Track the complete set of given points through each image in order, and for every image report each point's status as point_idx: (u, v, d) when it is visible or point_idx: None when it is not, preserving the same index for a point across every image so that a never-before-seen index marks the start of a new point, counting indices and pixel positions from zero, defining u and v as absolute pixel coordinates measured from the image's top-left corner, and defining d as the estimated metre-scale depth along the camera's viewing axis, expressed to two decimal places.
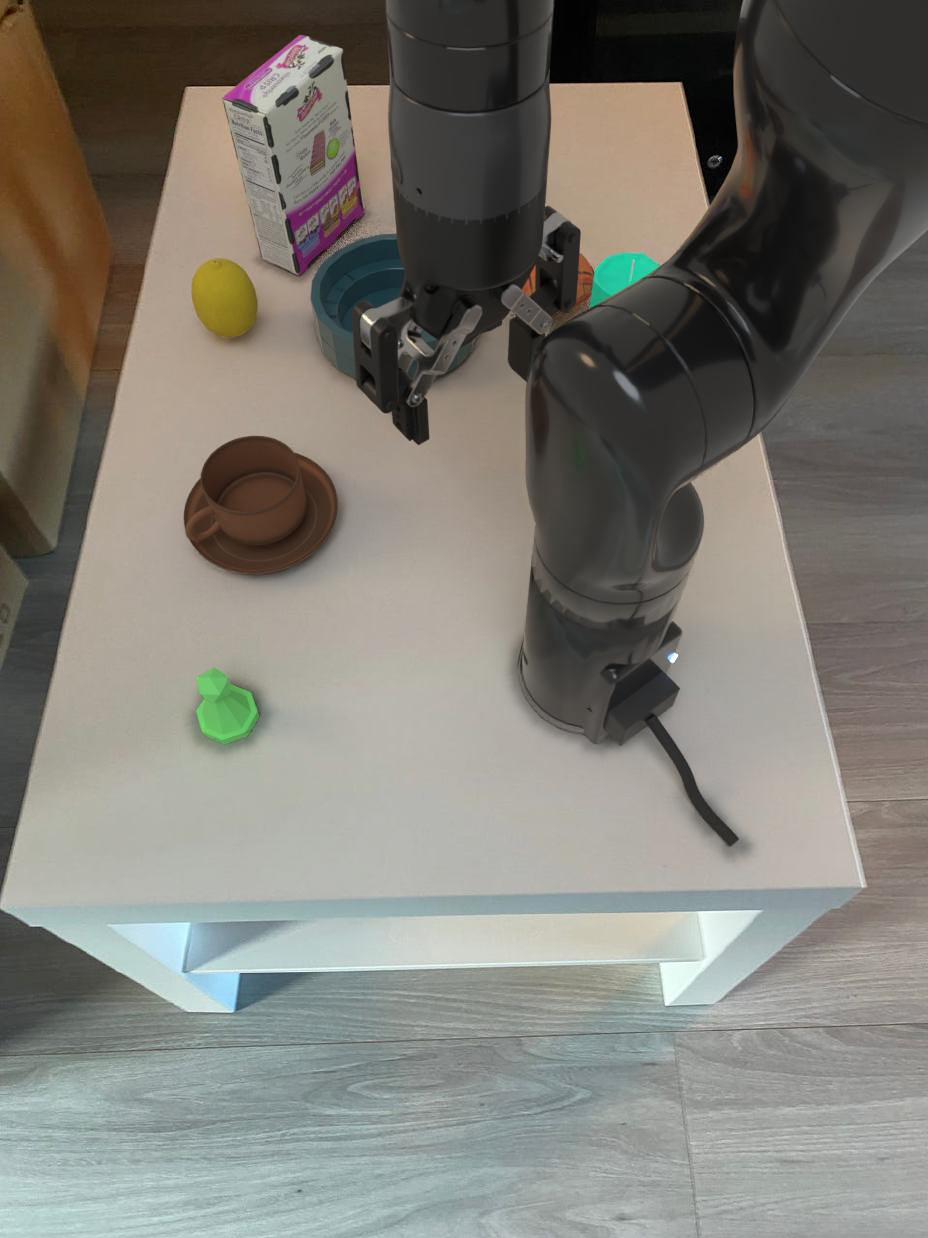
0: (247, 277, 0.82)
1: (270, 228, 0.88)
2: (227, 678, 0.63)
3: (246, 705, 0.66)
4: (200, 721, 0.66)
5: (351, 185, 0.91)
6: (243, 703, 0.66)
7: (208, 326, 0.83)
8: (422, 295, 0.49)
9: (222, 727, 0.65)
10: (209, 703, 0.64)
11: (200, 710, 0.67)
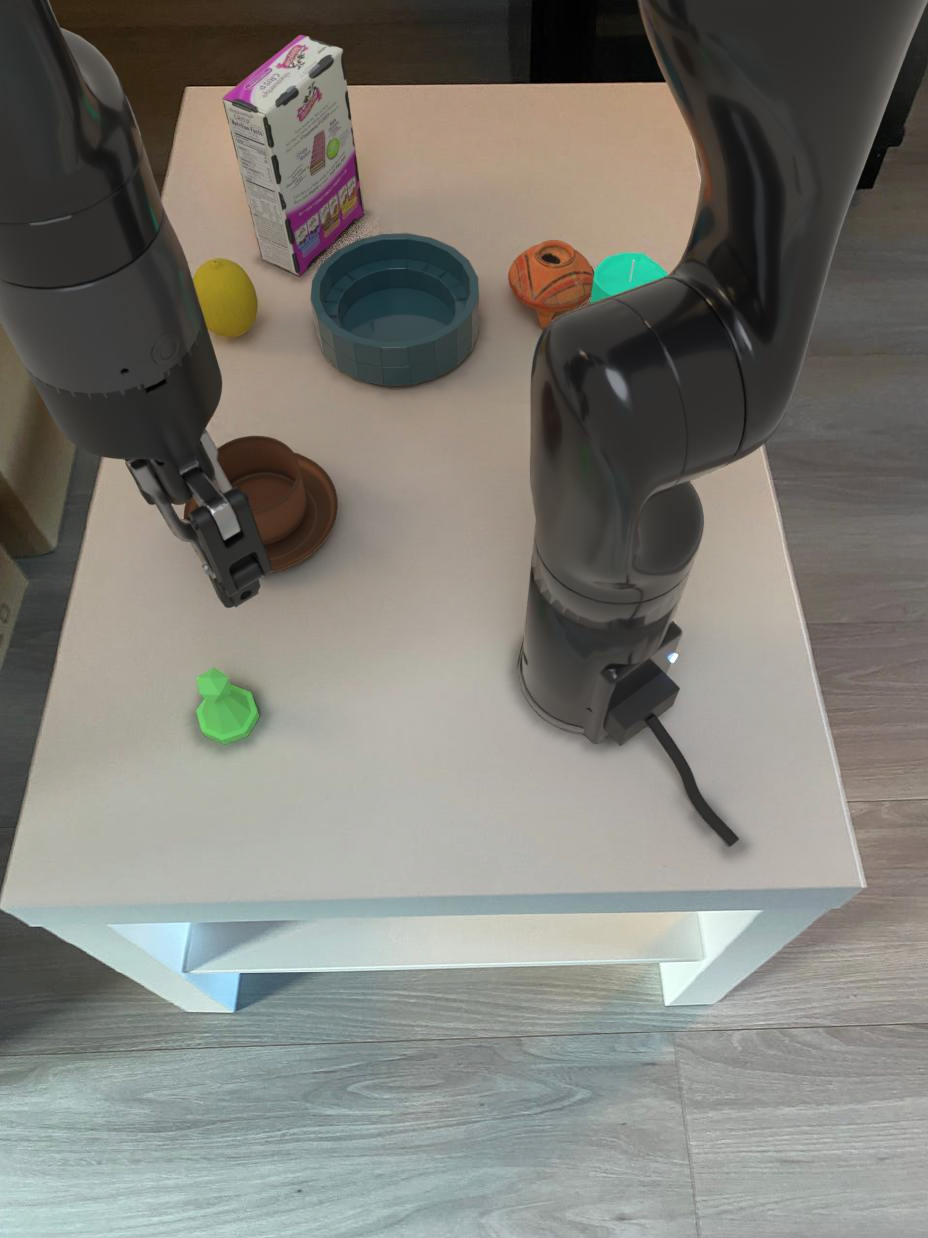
0: (247, 277, 0.82)
1: (270, 228, 0.88)
2: (227, 678, 0.63)
3: (246, 705, 0.66)
4: (200, 721, 0.66)
5: (351, 185, 0.91)
6: (243, 703, 0.66)
7: (208, 326, 0.83)
8: None
9: (222, 727, 0.65)
10: (209, 703, 0.64)
11: (200, 710, 0.67)
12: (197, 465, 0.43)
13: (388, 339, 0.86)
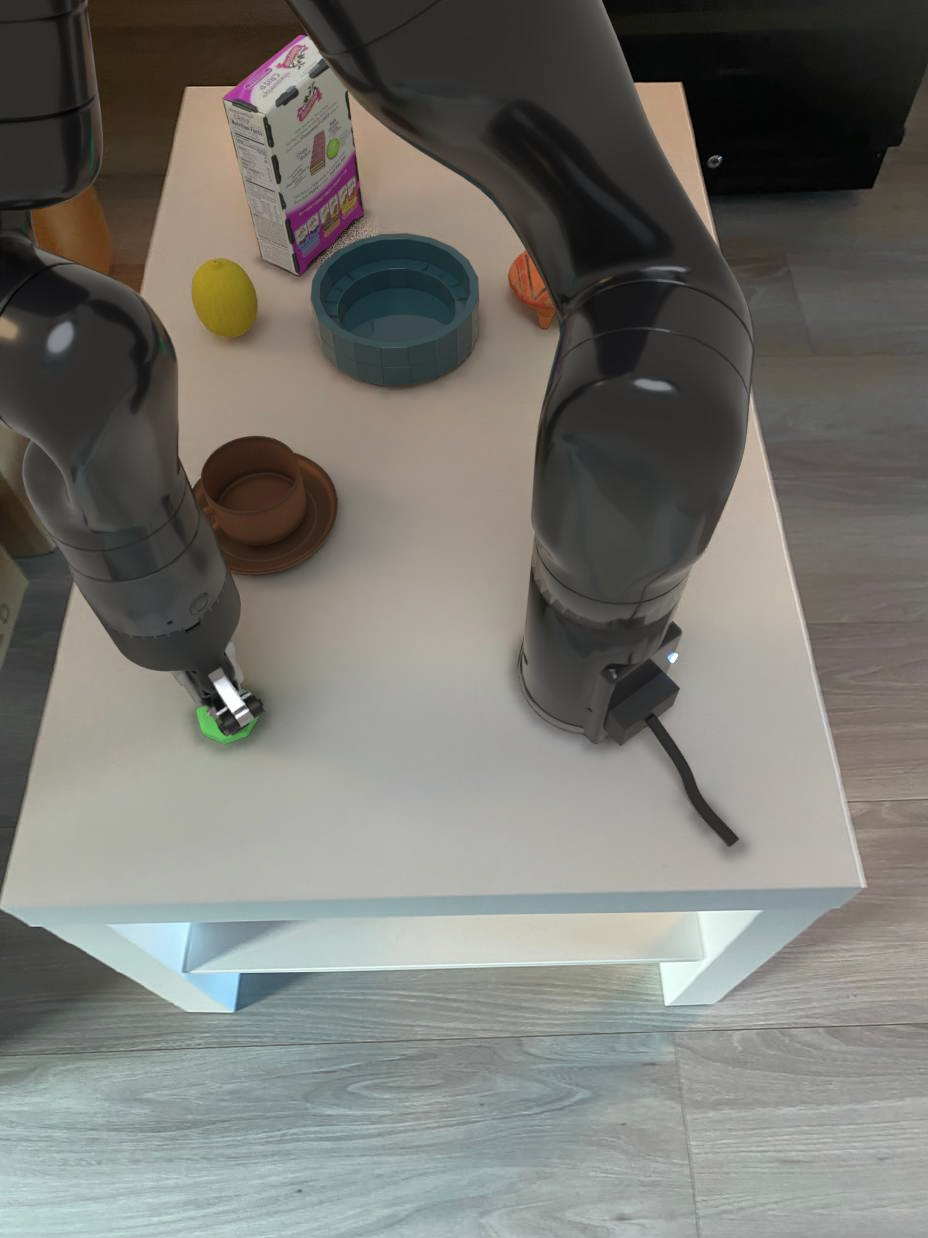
0: (247, 277, 0.82)
1: (270, 228, 0.88)
2: None
3: None
4: (200, 721, 0.66)
5: (351, 185, 0.91)
6: None
7: (208, 326, 0.83)
8: None
9: None
10: None
11: (200, 710, 0.67)
12: (221, 669, 0.55)
13: (388, 339, 0.86)
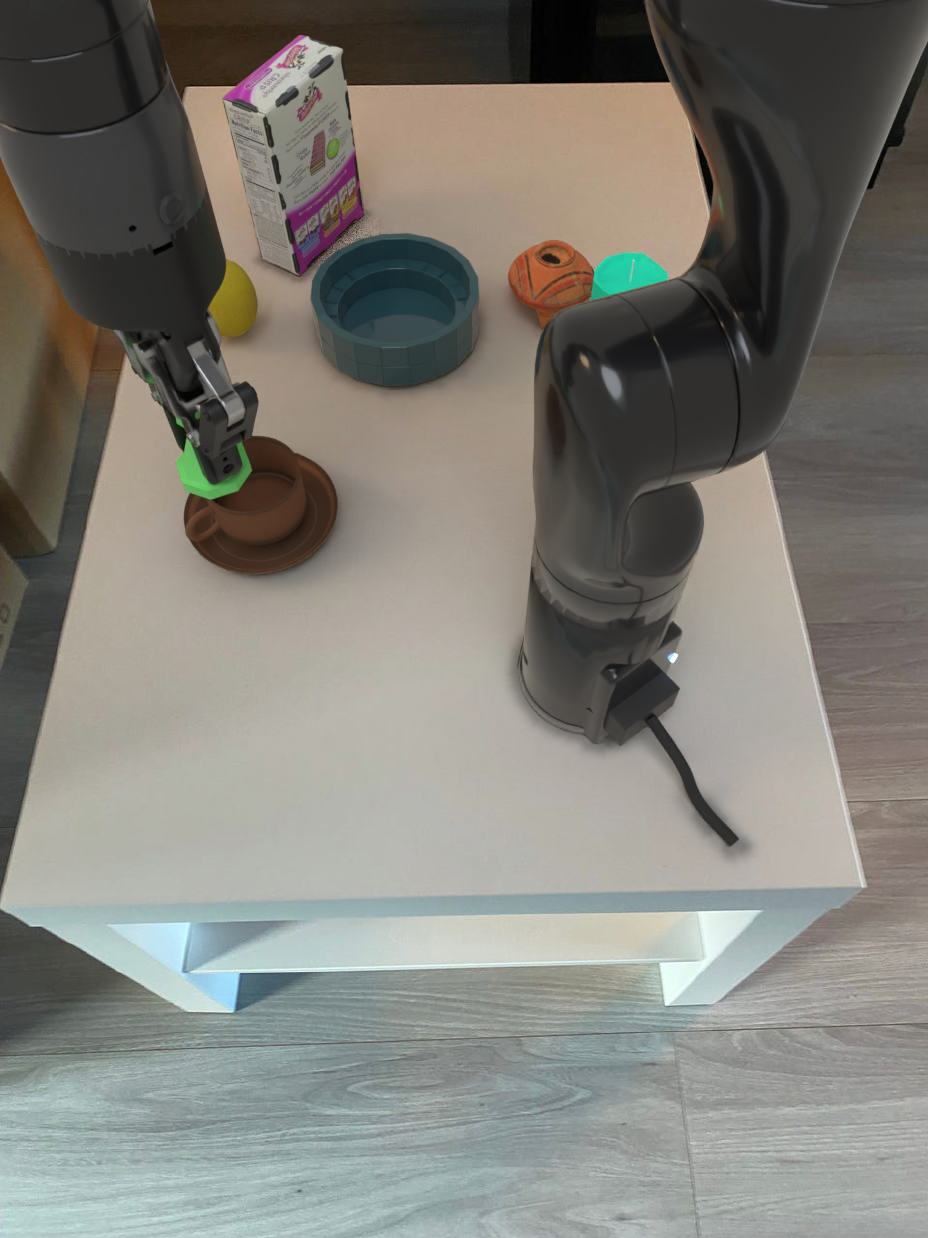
0: (247, 277, 0.82)
1: (270, 228, 0.88)
2: None
3: None
4: (180, 472, 0.55)
5: (351, 185, 0.91)
6: None
7: None
8: None
9: None
10: None
11: (180, 461, 0.55)
12: (203, 342, 0.44)
13: (388, 339, 0.86)
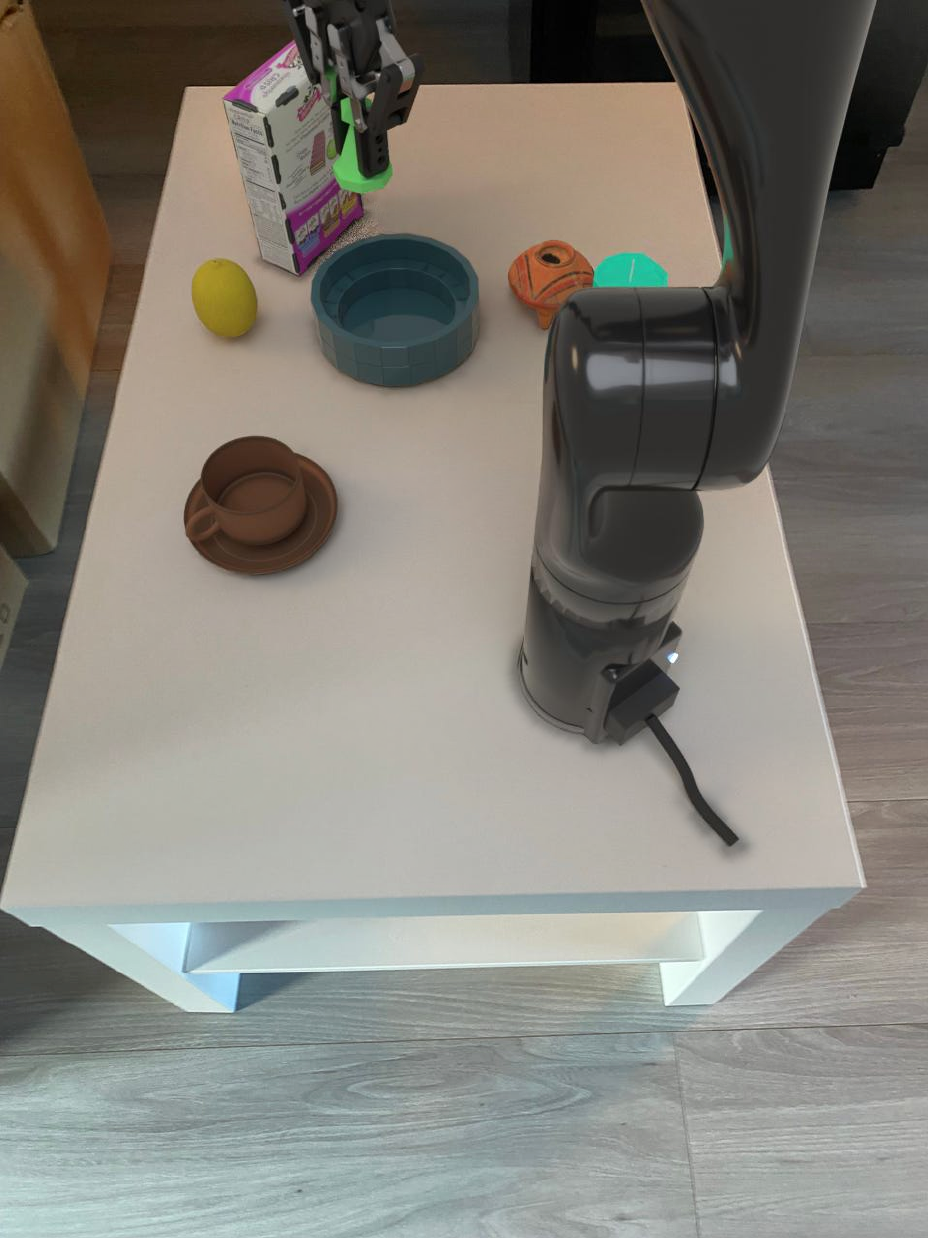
0: (247, 277, 0.82)
1: (270, 228, 0.88)
2: (370, 100, 0.65)
3: None
4: (337, 171, 0.68)
5: None
6: None
7: (208, 326, 0.83)
8: None
9: None
10: (350, 137, 0.66)
11: (336, 164, 0.69)
12: (385, 18, 0.57)
13: (388, 339, 0.86)
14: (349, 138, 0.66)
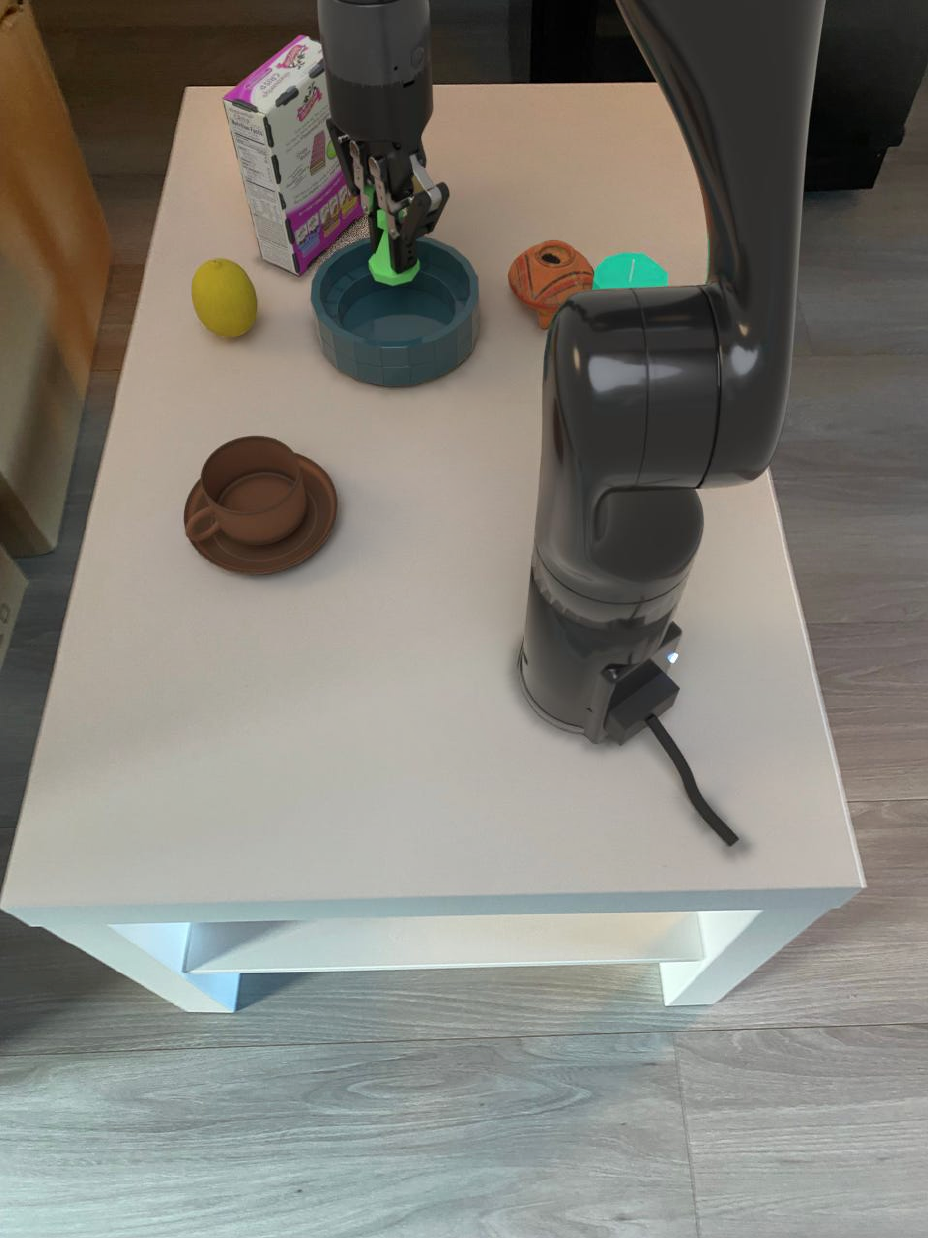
0: (247, 277, 0.82)
1: (270, 228, 0.88)
2: (402, 210, 0.76)
3: None
4: (372, 267, 0.80)
5: None
6: None
7: (208, 326, 0.83)
8: None
9: None
10: (384, 240, 0.78)
11: (371, 260, 0.80)
12: (417, 154, 0.69)
13: (388, 339, 0.86)
14: (383, 240, 0.78)
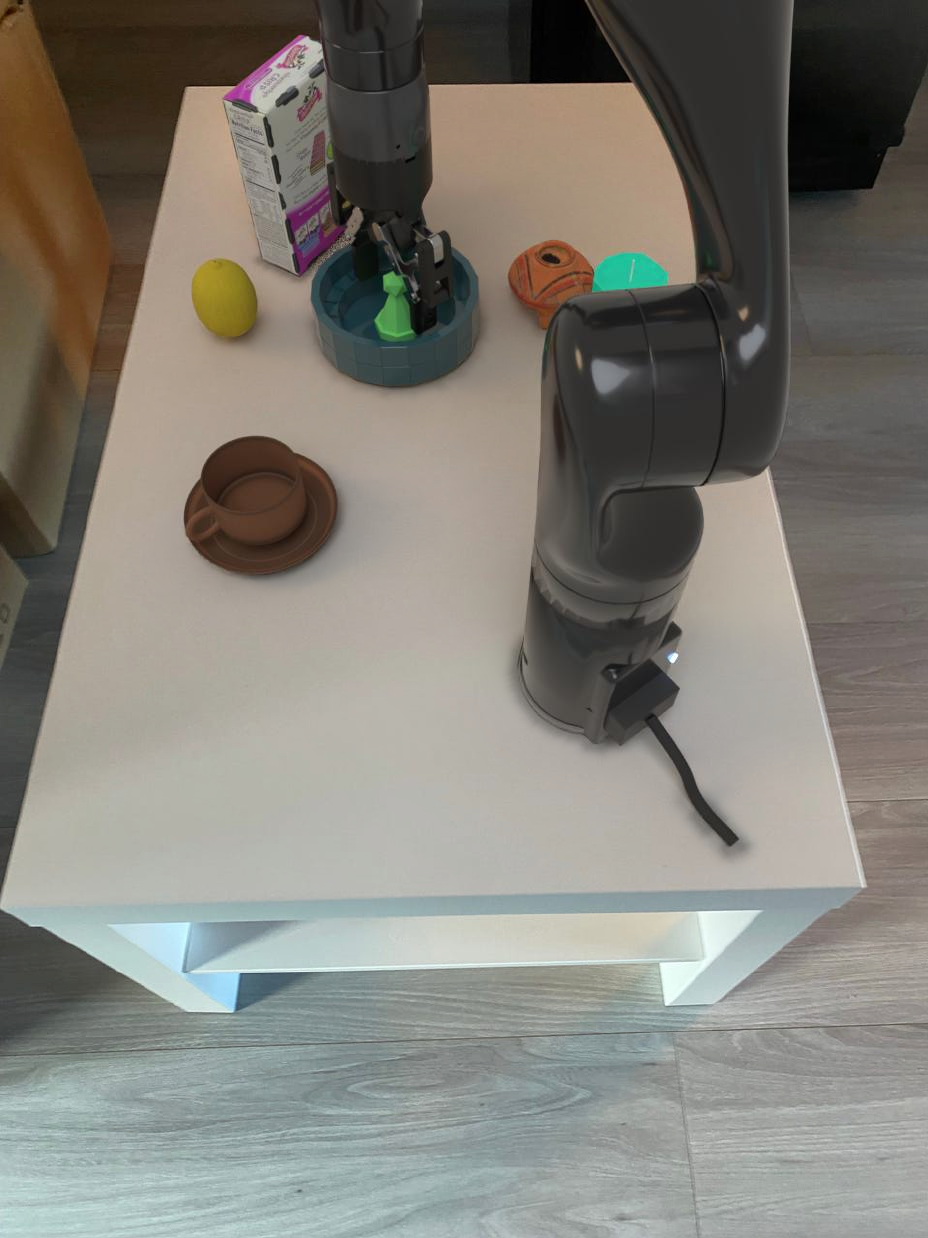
0: (247, 277, 0.82)
1: (270, 228, 0.88)
2: None
3: None
4: (378, 325, 0.85)
5: None
6: None
7: (208, 326, 0.83)
8: None
9: (397, 326, 0.84)
10: (390, 302, 0.83)
11: (377, 319, 0.86)
12: (418, 221, 0.74)
13: None
14: (389, 302, 0.83)
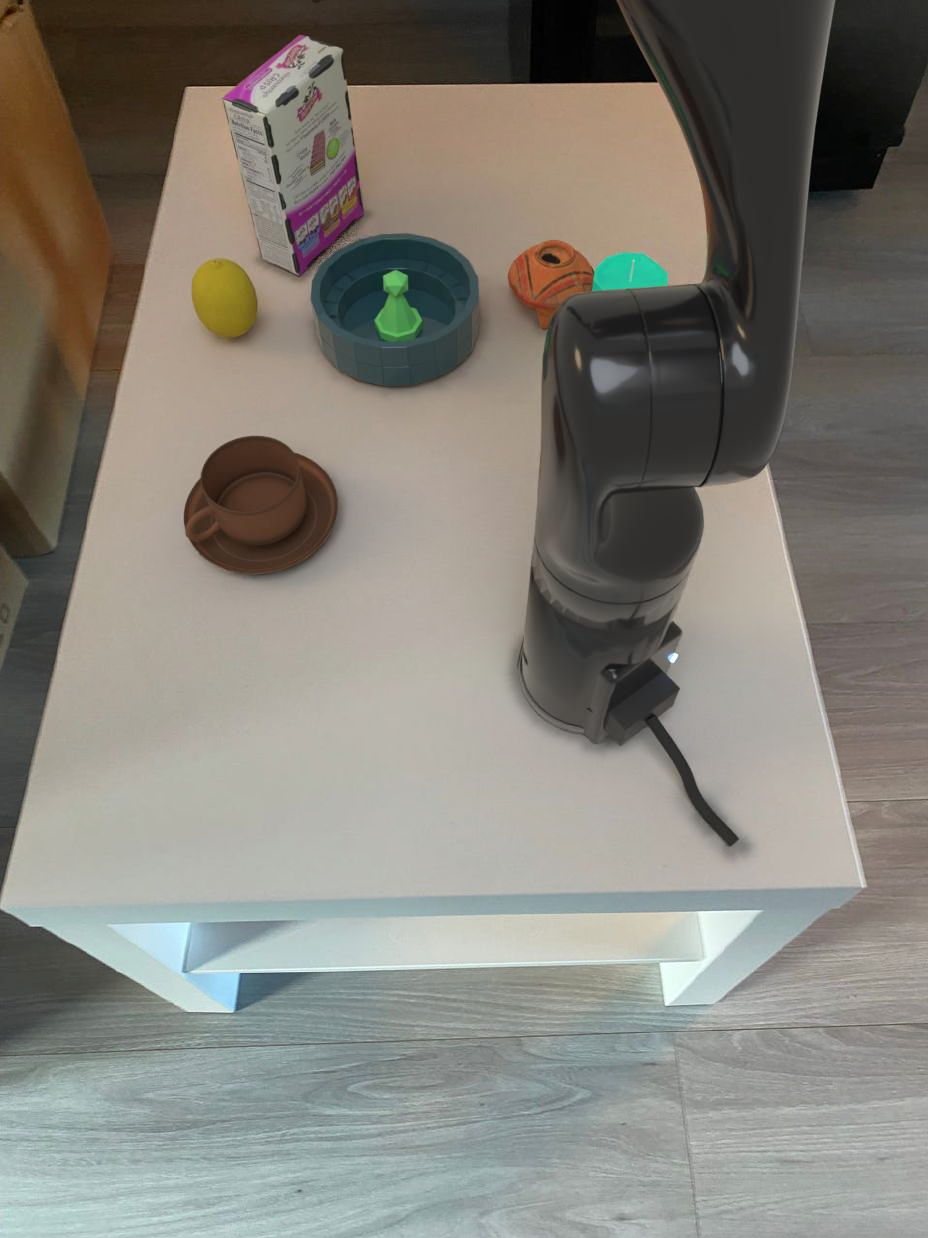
0: (247, 277, 0.82)
1: (270, 228, 0.88)
2: (407, 276, 0.82)
3: (414, 314, 0.86)
4: (378, 325, 0.85)
5: (351, 185, 0.91)
6: (412, 310, 0.85)
7: (208, 326, 0.83)
8: None
9: (397, 326, 0.84)
10: (390, 302, 0.83)
11: (377, 319, 0.86)
12: None
13: None
14: (389, 302, 0.83)
